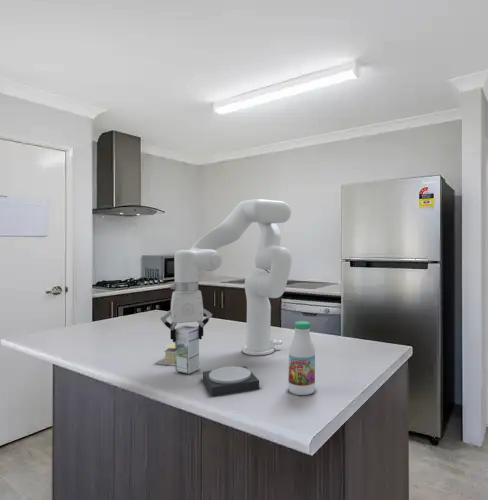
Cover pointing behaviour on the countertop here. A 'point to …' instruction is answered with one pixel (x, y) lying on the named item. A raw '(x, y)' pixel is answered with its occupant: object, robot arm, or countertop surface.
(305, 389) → the milk bottle
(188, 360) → the syrup box
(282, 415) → the countertop surface
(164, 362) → the stacked layers on plate
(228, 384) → the scale
